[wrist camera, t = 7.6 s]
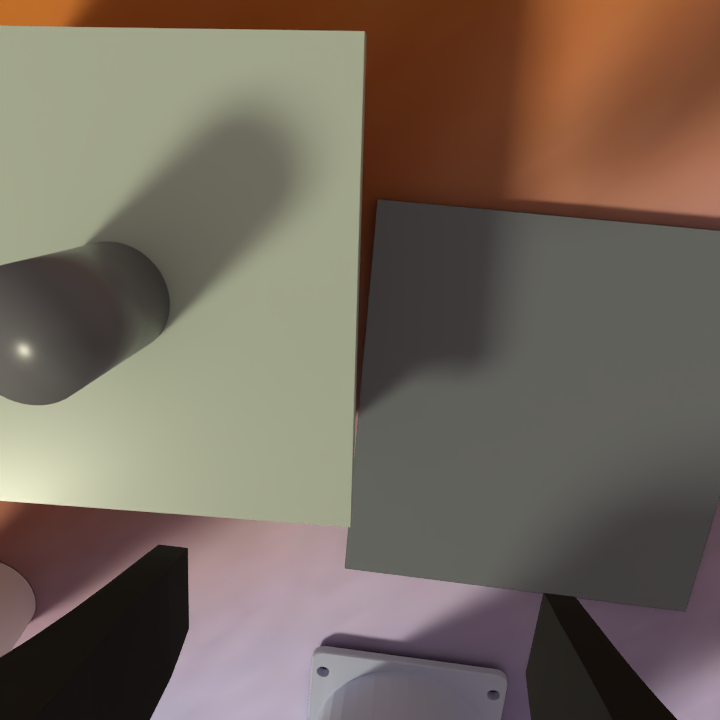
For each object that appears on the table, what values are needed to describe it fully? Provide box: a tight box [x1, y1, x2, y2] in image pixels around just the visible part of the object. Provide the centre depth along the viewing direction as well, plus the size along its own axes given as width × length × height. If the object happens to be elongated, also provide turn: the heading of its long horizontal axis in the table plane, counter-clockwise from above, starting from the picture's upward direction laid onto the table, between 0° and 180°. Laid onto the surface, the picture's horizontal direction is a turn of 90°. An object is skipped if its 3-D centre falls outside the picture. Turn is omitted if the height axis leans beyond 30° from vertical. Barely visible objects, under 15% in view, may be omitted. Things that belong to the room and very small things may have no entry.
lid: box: [0, 26, 367, 527], centre depth 15 cm, size 13×13×5 cm
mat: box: [345, 199, 720, 612], centre depth 21 cm, size 14×13×1 cm
